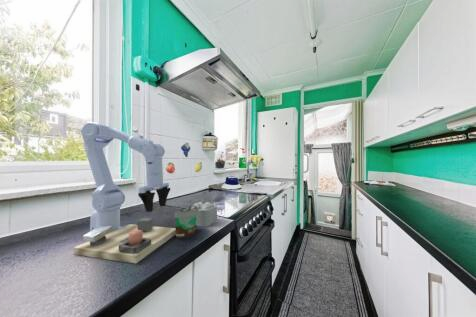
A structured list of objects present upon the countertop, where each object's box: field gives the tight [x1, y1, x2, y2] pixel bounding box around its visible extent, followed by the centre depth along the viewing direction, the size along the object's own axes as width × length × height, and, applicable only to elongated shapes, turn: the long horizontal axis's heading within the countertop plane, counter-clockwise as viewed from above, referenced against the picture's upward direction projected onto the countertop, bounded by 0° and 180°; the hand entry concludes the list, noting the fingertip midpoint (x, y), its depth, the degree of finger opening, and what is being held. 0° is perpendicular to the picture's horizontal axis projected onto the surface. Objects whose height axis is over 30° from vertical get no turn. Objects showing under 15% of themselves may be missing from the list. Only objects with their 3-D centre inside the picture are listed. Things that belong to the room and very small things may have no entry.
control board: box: [72, 223, 176, 264], centre depth 57 cm, size 22×20×4 cm
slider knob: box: [137, 217, 154, 231], centre depth 63 cm, size 4×3×4 cm
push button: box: [129, 230, 143, 245], centre depth 50 cm, size 4×4×3 cm
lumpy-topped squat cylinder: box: [193, 201, 218, 227], centre depth 79 cm, size 10×13×9 cm
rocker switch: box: [82, 225, 113, 242], centre depth 53 cm, size 4×6×2 cm, turn 168°
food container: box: [173, 204, 199, 239], centre depth 65 cm, size 12×6×10 cm, turn 168°
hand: (156, 208), depth 65 cm, fingers open, 7 cm apart
